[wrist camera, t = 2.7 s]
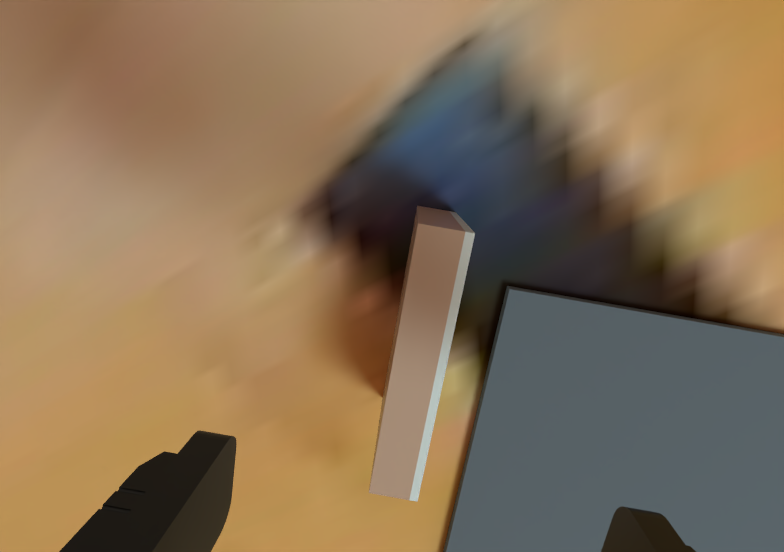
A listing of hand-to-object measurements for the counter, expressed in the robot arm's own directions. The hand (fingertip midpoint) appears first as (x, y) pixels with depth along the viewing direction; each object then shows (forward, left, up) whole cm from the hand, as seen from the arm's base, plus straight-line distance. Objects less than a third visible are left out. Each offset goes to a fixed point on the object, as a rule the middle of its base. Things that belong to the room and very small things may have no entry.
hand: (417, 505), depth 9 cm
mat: (+8, +13, -13) cm, 20 cm away
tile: (0, 0, -13) cm, 13 cm away
